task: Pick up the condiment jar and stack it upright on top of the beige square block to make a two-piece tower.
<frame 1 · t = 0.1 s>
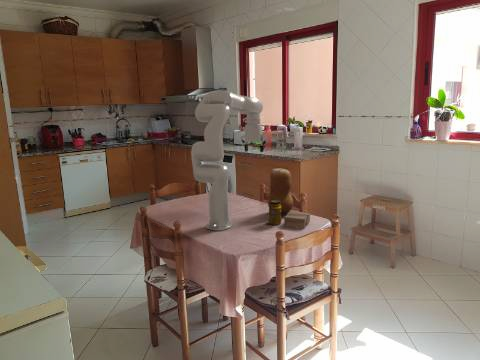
hand: (254, 151, 221), 31 cm above the table, tool pointing down, fingers open, 9 cm apart
condiment: (273, 224, 190), on the table
beige square block: (297, 224, 189), on the table
butternut squash: (280, 214, 206), on the table
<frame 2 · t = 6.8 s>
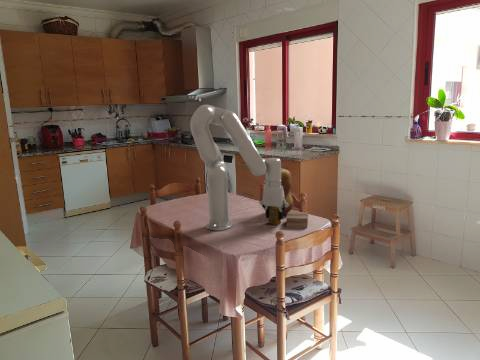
hand: (274, 217, 189), 3 cm above the table, tool pointing down, fingers closed on condiment, 6 cm apart
condiment: (273, 224, 190), on the table, touching gripper
when the fingers open (9 cm above the table, at t = 12.3 s): condiment drops 2 cm, resting on beige square block.
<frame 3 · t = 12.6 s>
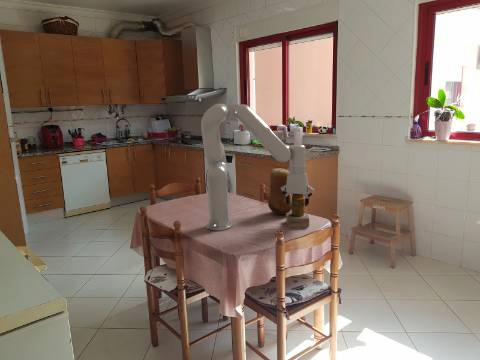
hand: (297, 204, 186), 10 cm above the table, tool pointing down, fingers open, 8 cm apart
condiment: (296, 216, 188), point 4 cm above the table, touching beige square block
beige square block: (297, 225, 189), on the table, touching condiment
everything else where it was.
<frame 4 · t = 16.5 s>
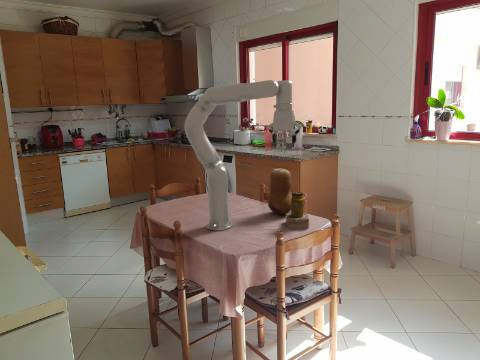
hand: (284, 143, 184), 40 cm above the table, tool pointing down, fingers open, 9 cm apart
condiment: (295, 216, 186), point 4 cm above the table, touching beige square block
beige square block: (297, 225, 188), on the table, touching condiment
everything else where it was.
at the end: condiment touching beige square block; condiment tilted 0° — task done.
